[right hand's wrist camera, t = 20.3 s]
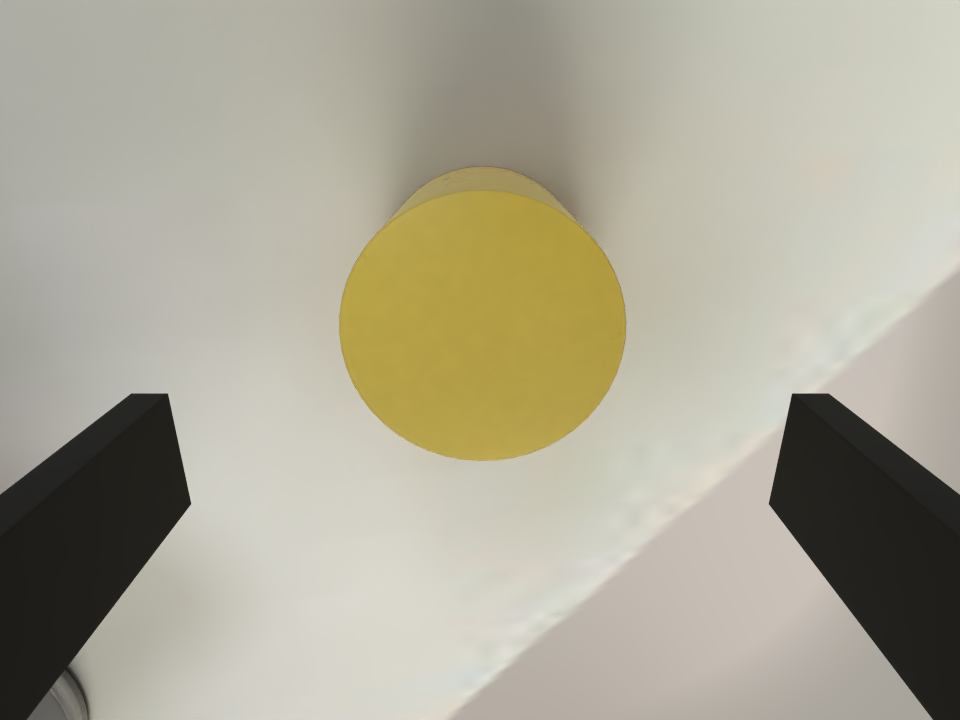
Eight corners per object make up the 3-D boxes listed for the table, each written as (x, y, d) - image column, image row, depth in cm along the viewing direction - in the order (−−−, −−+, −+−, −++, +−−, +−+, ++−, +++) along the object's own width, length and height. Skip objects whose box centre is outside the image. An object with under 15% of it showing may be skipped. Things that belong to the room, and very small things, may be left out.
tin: (526, 125, 25) (548, 129, 16) (613, 308, 28) (670, 390, 19) (344, 229, 26) (281, 281, 18) (445, 392, 29) (430, 500, 21)
